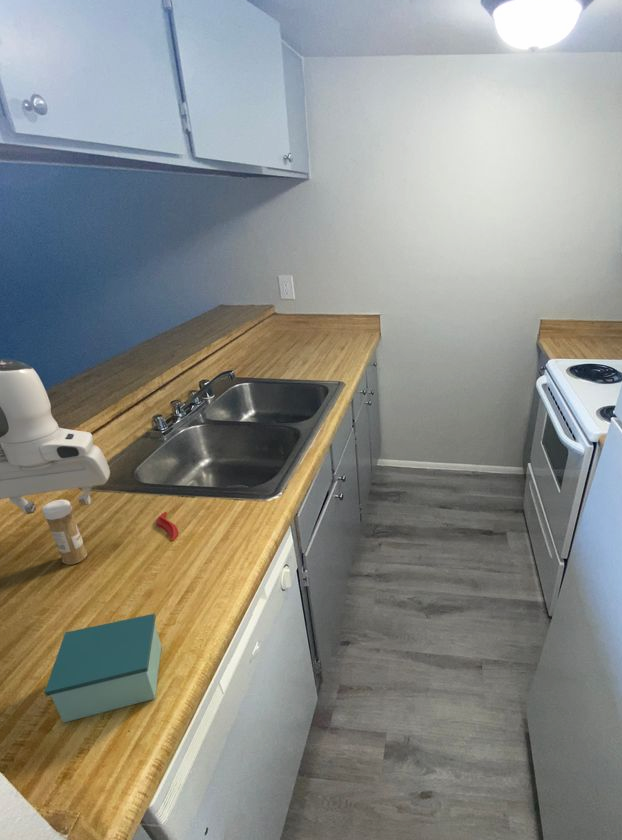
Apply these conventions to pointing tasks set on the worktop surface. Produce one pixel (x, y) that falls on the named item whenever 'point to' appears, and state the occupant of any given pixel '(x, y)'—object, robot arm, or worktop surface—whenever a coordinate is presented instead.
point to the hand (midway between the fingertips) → (58, 508)
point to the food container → (105, 668)
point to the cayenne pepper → (167, 526)
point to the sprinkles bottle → (65, 531)
